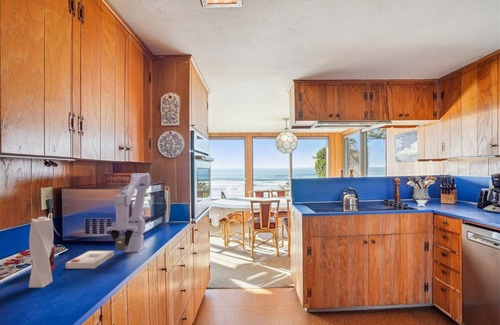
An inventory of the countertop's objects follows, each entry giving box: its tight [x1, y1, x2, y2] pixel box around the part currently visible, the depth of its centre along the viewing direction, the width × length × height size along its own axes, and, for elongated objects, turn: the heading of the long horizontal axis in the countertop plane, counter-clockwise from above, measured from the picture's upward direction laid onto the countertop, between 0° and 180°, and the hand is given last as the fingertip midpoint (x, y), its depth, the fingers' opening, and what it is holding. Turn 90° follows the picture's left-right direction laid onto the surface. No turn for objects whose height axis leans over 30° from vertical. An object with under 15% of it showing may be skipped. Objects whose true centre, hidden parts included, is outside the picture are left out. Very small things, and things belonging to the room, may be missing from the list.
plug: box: [114, 235, 128, 252], centre depth 137 cm, size 7×4×6 cm
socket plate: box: [65, 250, 115, 270], centre depth 132 cm, size 18×13×3 cm
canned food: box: [31, 243, 55, 272], centre depth 120 cm, size 8×8×11 cm
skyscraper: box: [28, 212, 54, 288], centre depth 107 cm, size 8×8×28 cm
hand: (122, 245), depth 136 cm, fingers closed on plug, 4 cm apart
